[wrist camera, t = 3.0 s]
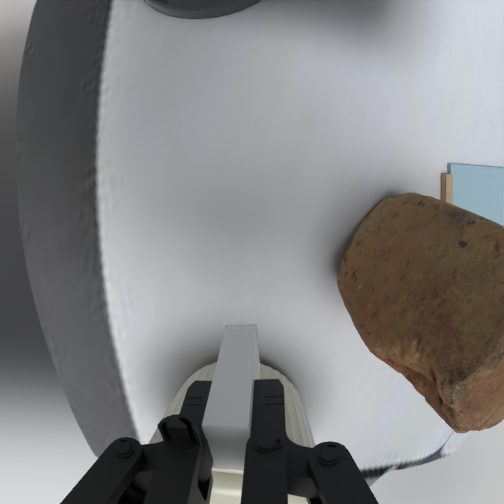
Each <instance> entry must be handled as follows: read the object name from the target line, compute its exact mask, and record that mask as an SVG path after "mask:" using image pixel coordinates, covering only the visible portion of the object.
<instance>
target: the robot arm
mask: <svg viewBox="0 0 504 504" xmlns="http://www.w3.org/2000/svg"><path fill="white" fill-rule="evenodd" d="M145 1H146V2H147V3H148V4H149V5H150V6H152V7H153V8H154V9H156V10H158V11H160V12H162V13H165V14H168V15H172V16H176V17H182V18H210V17H217V16H222V15H226V14H230V13H234V12H237V11H240V10H242V9H245V8H247V7H249V6H251V5H253V4H255V3H257V2H259V1H261V0H145ZM158 429H159V431H160V433H161V436H162V438H163V441H161V442H158V443H152V444H145V445H141V444H140V443H139V441H137V440H135V439H134V438H129V437H125V438H119V439H117V440H115V441H114V442H112V443H111V444H110V445H109V446H108V448H107V449H106V450H105V451H104V452H103V454H102V455H101V456H100V457H99V458H98V459H97V461H96V462H95V463H94V464H93V466H92V467H91V468H90V469H89V470H88V471H87V473H86V474H85V475H84V476H83V477H82V479H81V480H80V481H79V482H78V484H76V486H75V487H74V488H73V489H72V490H71V492H70V493H69V494H68V495H67V496H66V497H65V499H64V500H63V501H62V502H61V503H60V504H209V503H210V497H211V491H212V485H213V475H212V472H211V471H212V465H213V464H214V467H215V469H230V470H244V472H243V483H242V493H241V504H288V494H290V495H294V496H299V497H304V498H306V500H307V502H308V504H378V502H377V500H376V498H375V497H374V495H373V493H372V492H371V490H370V488H369V486H368V484H367V483H366V481H365V479H364V477H363V476H362V474H361V472H360V470H359V469H358V467H357V465H356V463H355V461H354V460H353V458H352V456H351V454H350V453H349V451H348V450H347V449H346V447H345V446H344V445H341V444H339V443H337V442H322V443H320V444H318V445H316V446H314V447H313V448H311V447H305V446H301V445H298V444H296V443H294V442H292V441H291V440H290V439H289V438H288V436H287V434H286V422H285V399H284V386H283V384H282V383H281V382H280V380H279V379H260V360H259V349H258V337H257V326H256V325H231V326H226V327H225V331H224V335H223V339H222V343H221V347H220V351H219V355H218V360H217V364H216V368H215V372H214V376H213V380H212V381H199V380H195V381H194V382H193V383H192V384H191V385H190V386H189V387H188V389H187V392H186V395H185V398H184V401H183V405H182V407H181V410H180V413H179V414H174V415H170V416H167V417H165V418H164V419H163V420H161V421H160V423H159V424H158Z"/></svg>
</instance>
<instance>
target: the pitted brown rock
mask: <svg viewBox="0 0 504 504" xmlns="http://www.w3.org/2000/svg"><path fill="white" fill-rule="evenodd" d="M337 283H338V288H339V291H340V294H341V297H342V299H343V302H344V304H345V306H346V308H347V310H348V312H349V314H350V316H351V318H352V321H353V323H354V326H355V328H356V329H357V331H358V333H359V335H360V337H361V338H362V340H363V341H364V343H365V345H366V346H367V347H368V349H369V351H370V352H372V353H373V354H374V355H375V356H376V357H378V358H379V359H381V360H382V361H384V362H385V363H386V364H388V365H389V366H390V367H392V368H393V369H395V370H396V371H397V372H399V373H402V375H403V376H404V377H405V378H406V379H407V380H408V381H410V382H411V383H412V385H413V386H414V388H415V389H416V391H418V392H419V393H420V394H421V395H422V396H424V397H425V400H426V402H427V403H428V404H429V405H430V406H431V407H432V408H433V409H434V410H435V411H436V412H437V414H438V415H439V416H440V417H441V418H442V419H444V420H445V422H446V423H447V424H448V425H449V426H450V427H451V428H452V429H453V430H454V431H455V432H456V433H466V432H468V431H469V430H478V431H480V430H483V429H487V428H491V427H493V426H495V425H497V424H498V423H499V422H501V421H502V420H503V419H504V226H502V225H500V224H498V223H496V222H494V221H492V220H490V219H487V218H485V217H482V216H480V215H477V214H475V213H473V212H470V211H468V210H465V209H462V208H460V207H457V206H455V205H452V204H450V203H447V202H445V201H442V200H438V199H435V198H433V197H430V196H424V195H420V194H416V193H405V194H402V195H400V196H398V197H389V198H386V199H384V200H382V201H381V202H380V203H379V204H378V205H376V207H375V208H374V209H373V210H372V211H371V212H370V213H369V214H368V216H367V217H366V218H365V219H364V220H363V221H362V222H361V224H360V225H359V227H358V229H357V231H356V232H355V234H354V235H353V239H352V242H351V243H350V244H349V245H348V247H347V249H346V251H345V253H344V256H343V259H342V260H341V263H340V273H339V274H338V275H337Z"/></svg>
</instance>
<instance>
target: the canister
mask: <svg viewBox="0 0 504 504" xmlns="http://www.w3.org/2000/svg"><path fill="white" fill-rule="evenodd" d="M216 364H217V362H214V363H212V364H211V365H206V366H204V367H203V368H202V369H199V370H197V371H196V372H195V373H194V374H193V375H191V376H190V377H189V378H188V379H187V380H186V382H185V383H184V384H183V385H182V387H181V388H180V390H179V391H178V393H177V395H176V396H175V398H174V400H173V401H172V403H171V405H170V406H169V408H168V410H167V411H166V413H165V415H164V417H163V418H162V420H163V419H164V418H165V417H167V416H170V415H174V414H179V413H180V410H181V407H182V405H183V401H184V398H185V395H186V392H187V389H188V387H189V386H190V385H191V384H192V383H193V382H194V381H195V380H199V381H212V380H213V376H214V372H215V368H216ZM260 379H279V380H280V382H281V383H282V384H283V386H284V399H285V422H286V434H287V436H288V438H289V439H290V440H291V441H292V442H294V443H296V444H298V445H301V446H305V447H311V448H313V447H314V446H315V443H314V439H313V435H312V432H311V428H310V425H309V422H308V419H307V415H306V412H305V409H304V406H303V403H302V401H301V398H300V395H299V393H298V391H297V390H296V389H295V387H294V385H293V384H292V383H291V382H290V381H289V380H288V379H287V378H286V377H285V376H284V375H282V374H280V372H279V371H277V370H274V369H272V368H271V367H270V366H265V365H263V364H262V363H260ZM161 441H163V438H162V436H161V433H160V431H159V429H158V428H157V429H156V431H155V433H154V435H153V437H152V438H151V440H150V442H149V444H152V443H158V442H161ZM211 472H212V475H213V485H212V491H211V497H210V503H209V504H241V493H242V483H243V472H244V470H230V469H215V467H214V464H213V465H212V471H211ZM288 504H308V502H307V500H306V498H304V497H299V496H294V495H290V494H288Z"/></svg>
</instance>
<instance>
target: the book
mask: <svg viewBox="0 0 504 504" xmlns="http://www.w3.org/2000/svg"><path fill="white" fill-rule="evenodd" d="M441 200H442V201H445V202H447V203H450V204H452V205H455V206H457V207H460V208H462V209H465V210H468V211H470V212H473V213H475V214H477V215H480V216H482V217H485V218H487V219H490V220H492V221H494V222H496V223H498V224H500V225H502V226H504V168H499V167H489V166H477V165H464V164H449V163H448V174H443V173H441Z"/></svg>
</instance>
